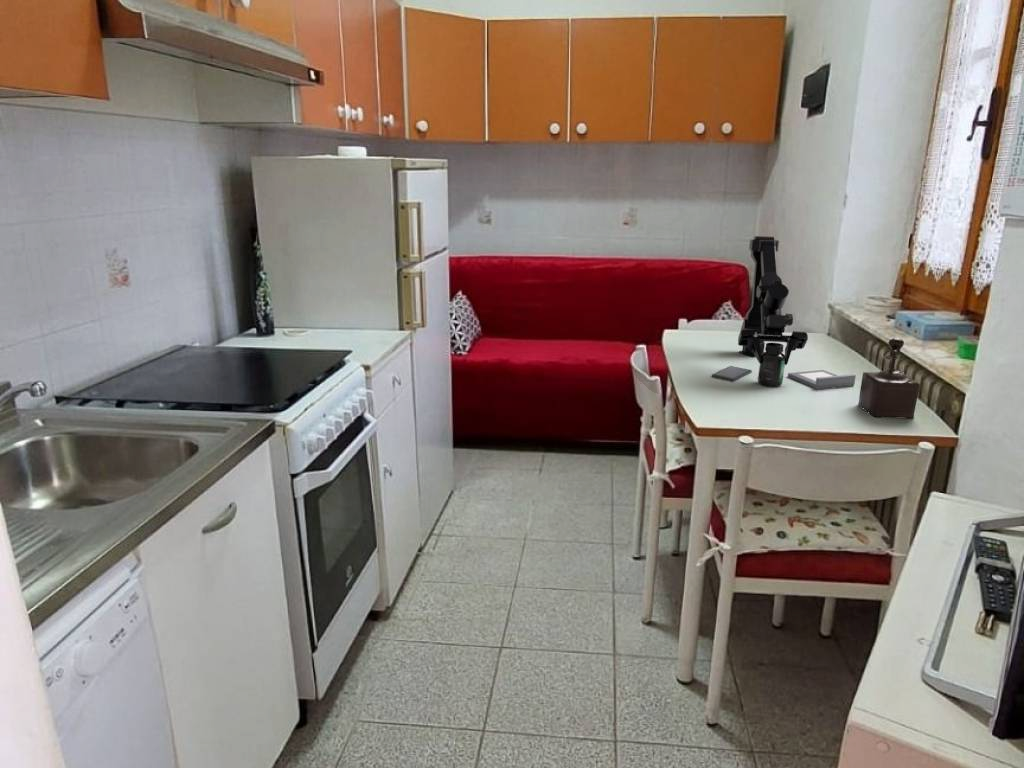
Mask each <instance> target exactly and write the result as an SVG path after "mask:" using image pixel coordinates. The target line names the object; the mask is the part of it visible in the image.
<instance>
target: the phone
mask: <svg viewBox="0 0 1024 768" xmlns="http://www.w3.org/2000/svg"><path fill="white" fill-rule="evenodd" d="M752 371H753V370H752V369H747V368H743V367H738V366H733V365H729V366H727V367H725V368H722V369H721V370H718V371H717V372H714V373H712V374H711V377H712V378H714V377H715V378H714V379H719V378H721V379H720V380H725V381H728V380H729V382H735V381H738V380H740V379H741V378H744V377H745V376H748V375H749V374H752Z"/></svg>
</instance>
